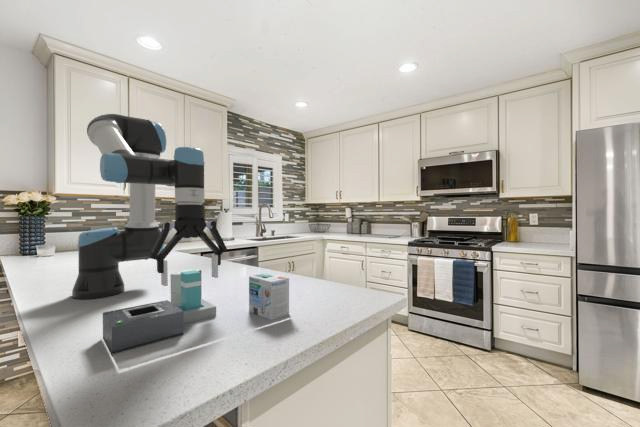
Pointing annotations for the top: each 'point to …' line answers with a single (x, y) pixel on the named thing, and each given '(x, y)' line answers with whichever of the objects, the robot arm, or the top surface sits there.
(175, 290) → the small box
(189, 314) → the holster
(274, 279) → the light bulb box
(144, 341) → the port panel
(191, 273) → the plug
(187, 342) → the top surface
